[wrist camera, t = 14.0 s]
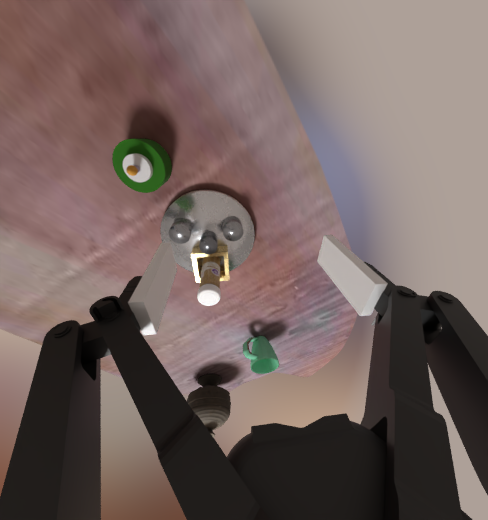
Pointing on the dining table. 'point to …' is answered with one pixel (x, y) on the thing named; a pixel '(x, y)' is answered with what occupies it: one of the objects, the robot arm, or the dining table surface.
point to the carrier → (208, 231)
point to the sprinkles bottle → (210, 281)
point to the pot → (210, 402)
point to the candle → (142, 164)
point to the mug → (261, 355)
